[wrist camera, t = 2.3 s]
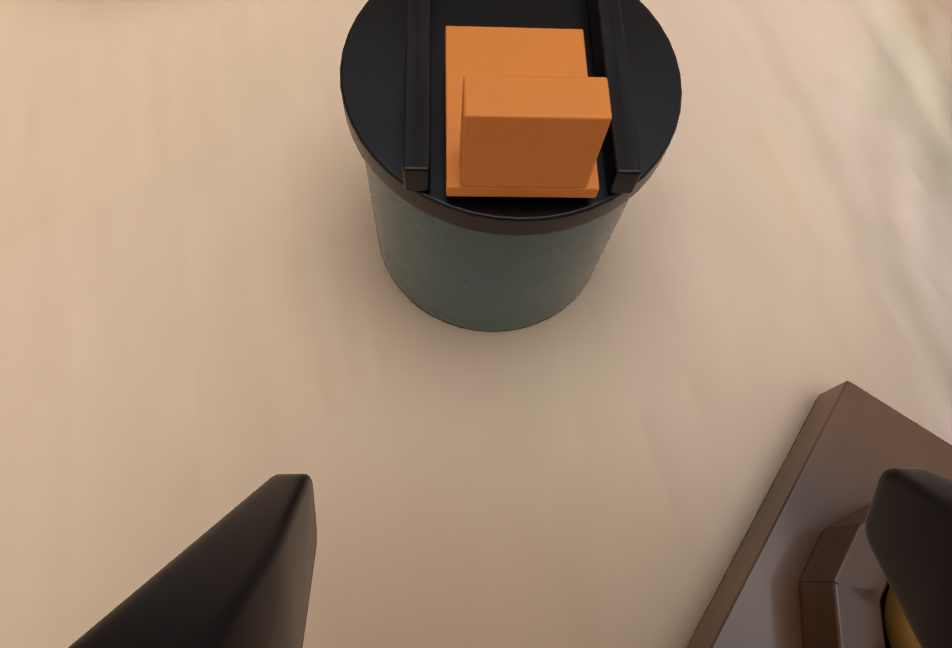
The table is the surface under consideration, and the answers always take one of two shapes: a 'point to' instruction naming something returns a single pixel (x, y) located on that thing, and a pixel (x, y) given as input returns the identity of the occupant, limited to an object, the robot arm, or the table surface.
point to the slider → (522, 113)
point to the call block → (820, 533)
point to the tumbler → (497, 218)
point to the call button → (898, 624)
